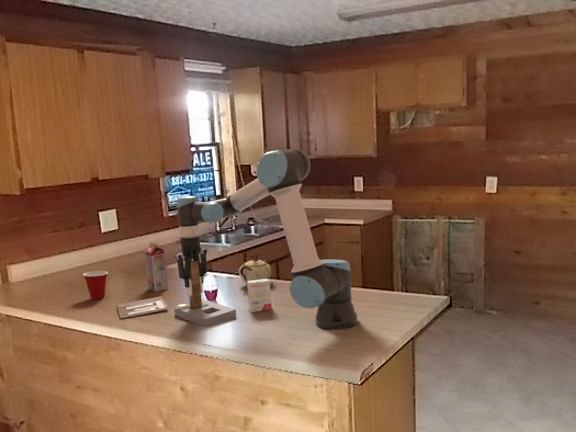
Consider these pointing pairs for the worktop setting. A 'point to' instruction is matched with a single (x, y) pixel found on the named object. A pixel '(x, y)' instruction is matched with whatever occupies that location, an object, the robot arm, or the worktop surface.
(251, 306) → the ink box
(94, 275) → the plastic cup
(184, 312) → the grey flat block
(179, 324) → the worktop surface
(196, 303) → the walnut rod
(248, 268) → the sugar bowl
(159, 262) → the juice carton
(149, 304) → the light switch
